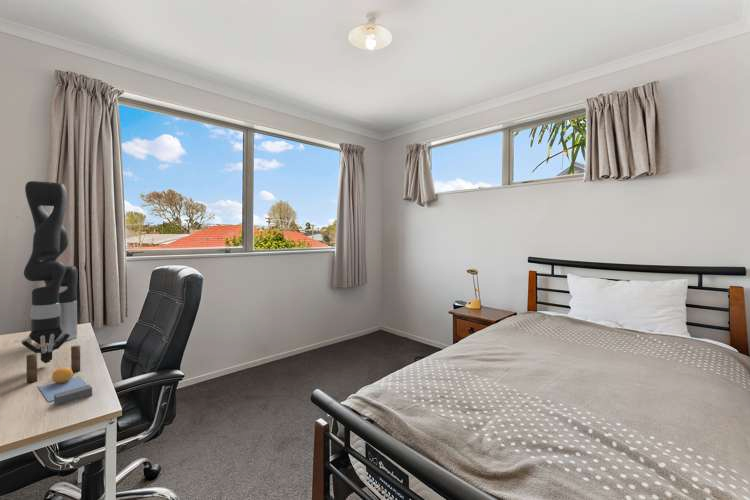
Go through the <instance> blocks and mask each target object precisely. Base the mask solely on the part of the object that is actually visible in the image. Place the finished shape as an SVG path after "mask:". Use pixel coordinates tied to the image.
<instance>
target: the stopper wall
mask: <svg viewBox="0 0 750 500" xmlns="http://www.w3.org/2000/svg"><path fill="white" fill-rule="evenodd" d="M92 396H93V387H92V386H91V385H90V384H87V385H86V386H83V387H79V388H75V389H72V390H68V391H64V392H61V393H57V394H54V401H53V404H55V406H56V407H58V406H62V405H65V404H68V403H71V402H75V401H79V400H82V399H86V398H89V397H92Z"/></svg>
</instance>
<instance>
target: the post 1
mask: <svg viewBox="0 0 750 500" xmlns="http://www.w3.org/2000/svg"><path fill="white" fill-rule="evenodd" d="M25 358H26V383H27V384H34V383H36V382H38V353H30V354H27V355H26V357H25Z"/></svg>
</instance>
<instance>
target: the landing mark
mask: <svg viewBox="0 0 750 500" xmlns="http://www.w3.org/2000/svg"><path fill="white" fill-rule="evenodd" d="M86 385H88V384H87V382H86V381H85V380H84V379H83V378H81V376H77V377H71V378H70V379H69V380H68V381H66V382H64V383H56V382H51V383H49V384H45V385H44V384H43V385H41V386H40V385H39V386H38V389H39V390H40V393H42V395H43V396H44V398H45V399H46V401H47V402H48V403H50V402H54V394H57V393H61V392H64V391H68V390H72V389H75V388H79V387H83V386H86Z"/></svg>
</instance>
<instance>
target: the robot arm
mask: <svg viewBox="0 0 750 500" xmlns="http://www.w3.org/2000/svg"><path fill="white" fill-rule="evenodd" d="M24 190H25V192H24V193H25V196H26V201H27V203H28V204H27V205H28V207H29V210H30V213H31V215H32V216H31V217H32V220H33V223H34V234H33V237H32V238H33V239H32V250H31V255H30V256H29V259H28V261H27V262H26V265H25V267H24V270H23V276H24V279H26V280H28V281H30V282H44V284H45V286H40V287H39V286H38V287H35V288H34V289H32V290H31V310H30V326H31V328H30V333H29V335H28V337H27V338H25V339H23V340H21V341H20V344H22V346H24V347H25V348H27V349H28V350H30V351H32V352H33V354H40V361H41V362H42V363H44V364H46V363H51V361H53V351H55V350H58V349H60V347H61V346H62V345H63V344H64V343H65V342H66V341H70V340H73V339H76V338H77V337H78V280H79V279H78V277H79V275H78V273H79V272H78V268H77V267H76V266H74V265H73V266H72V265H66V264H64V263H63V262H62V261H57V259H58V258H59V257H60V256H61V255H62V254H63V253H64V252H65V251H66V250H67V248H68V245H69V239H68V237H69V236H68V232H67V230H66V228H65V226H63V222H64V217H65V211H66V207H67V202H68V201H67V200H68V191H67V188H66V185H64V184H63V183H62V182H61V183H60V182H50V181H38V180H36V181H35V180H30V181H28V182H27V183H25V187H24ZM45 206H46V207H53V210H52V211H51V213H50V214H49V213H48V212H47V210H46V209H45ZM61 287H66V289H65V290H63V291H61V292H60V289H61ZM32 341H33V342H35V343H36V344H38V346H39V347H36V346H34V345H33V344H32V343H33V342H32Z"/></svg>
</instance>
